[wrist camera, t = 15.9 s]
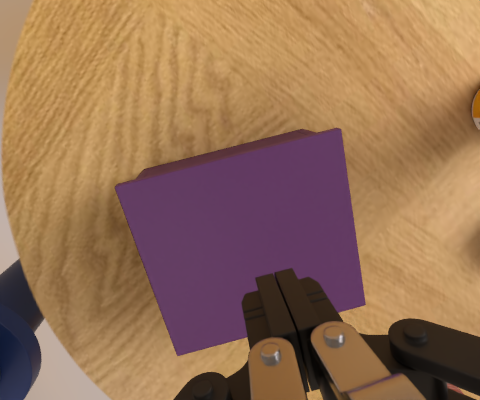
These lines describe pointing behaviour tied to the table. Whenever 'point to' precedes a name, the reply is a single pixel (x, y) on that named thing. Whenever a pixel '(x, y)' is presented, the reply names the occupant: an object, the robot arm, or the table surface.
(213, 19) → the table surface
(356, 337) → the robot arm
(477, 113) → the beer can
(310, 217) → the lid
